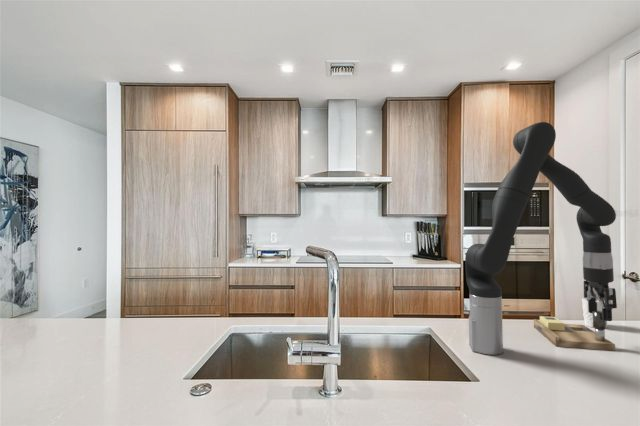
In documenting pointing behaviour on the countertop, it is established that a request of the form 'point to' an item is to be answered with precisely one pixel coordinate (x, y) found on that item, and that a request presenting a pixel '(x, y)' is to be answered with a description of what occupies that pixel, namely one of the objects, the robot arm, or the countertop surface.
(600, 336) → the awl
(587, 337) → the board
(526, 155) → the robot arm
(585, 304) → the white cup
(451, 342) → the countertop surface
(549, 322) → the stud finder
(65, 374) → the countertop surface
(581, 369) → the countertop surface
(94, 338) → the countertop surface
